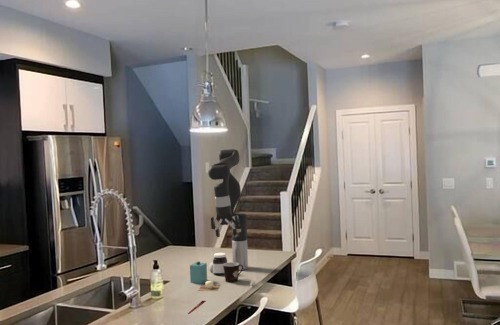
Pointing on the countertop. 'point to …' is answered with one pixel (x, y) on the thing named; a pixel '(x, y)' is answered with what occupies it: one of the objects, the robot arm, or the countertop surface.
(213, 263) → the spread jar
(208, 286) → the cream cheese
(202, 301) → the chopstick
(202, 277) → the teal rectangular block
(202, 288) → the walnut board
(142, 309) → the countertop surface
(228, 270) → the coffee mug
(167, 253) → the countertop surface
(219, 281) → the countertop surface
